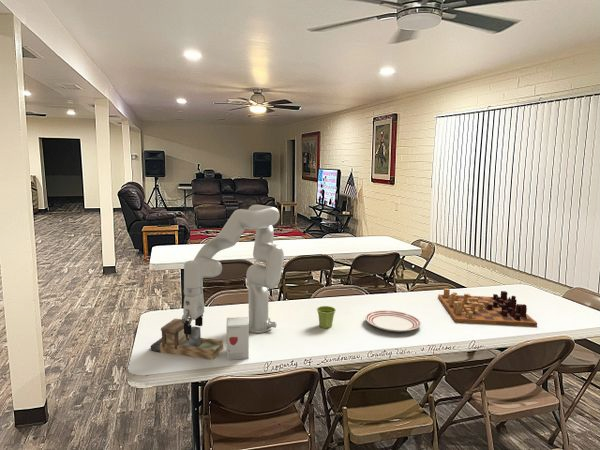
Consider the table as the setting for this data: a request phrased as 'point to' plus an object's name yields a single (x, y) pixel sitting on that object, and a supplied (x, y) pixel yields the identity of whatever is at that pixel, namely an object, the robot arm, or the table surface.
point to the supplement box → (237, 338)
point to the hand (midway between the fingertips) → (193, 329)
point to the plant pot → (326, 316)
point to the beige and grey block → (193, 338)
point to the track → (204, 350)
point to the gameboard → (486, 309)
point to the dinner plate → (393, 320)
